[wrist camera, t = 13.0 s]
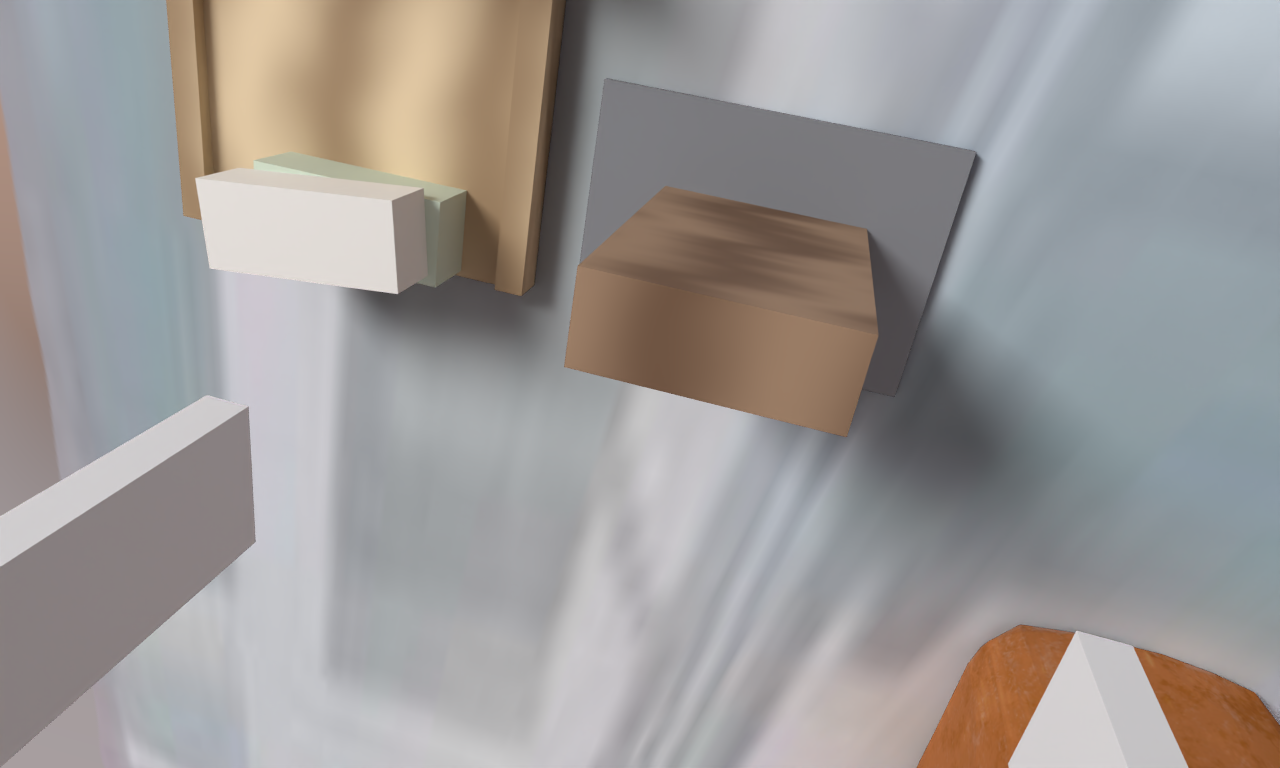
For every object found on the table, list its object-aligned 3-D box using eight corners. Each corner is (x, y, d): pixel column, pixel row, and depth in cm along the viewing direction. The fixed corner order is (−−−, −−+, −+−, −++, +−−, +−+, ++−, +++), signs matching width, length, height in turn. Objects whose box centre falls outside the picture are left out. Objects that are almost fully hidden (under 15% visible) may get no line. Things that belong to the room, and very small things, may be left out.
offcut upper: (423, 188, 32) (391, 200, 29) (428, 275, 33) (397, 294, 31) (239, 167, 33) (195, 178, 31) (250, 252, 34) (209, 268, 32)
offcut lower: (466, 190, 34) (440, 202, 32) (461, 270, 35) (435, 287, 33) (290, 151, 35) (253, 160, 33) (292, 231, 36) (256, 244, 34)
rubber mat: (974, 150, 30) (976, 152, 30) (894, 393, 34) (894, 397, 34) (607, 78, 32) (604, 79, 32) (574, 316, 36) (572, 319, 36)
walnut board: (866, 229, 32) (878, 335, 21) (846, 301, 33) (846, 437, 22) (665, 185, 33) (577, 265, 22) (652, 258, 34) (564, 366, 23)
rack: (581, -140, 29) (522, -176, 24) (534, 285, 36) (479, 331, 31) (180, -205, 31) (43, -251, 26) (208, 208, 38) (104, 238, 33)
